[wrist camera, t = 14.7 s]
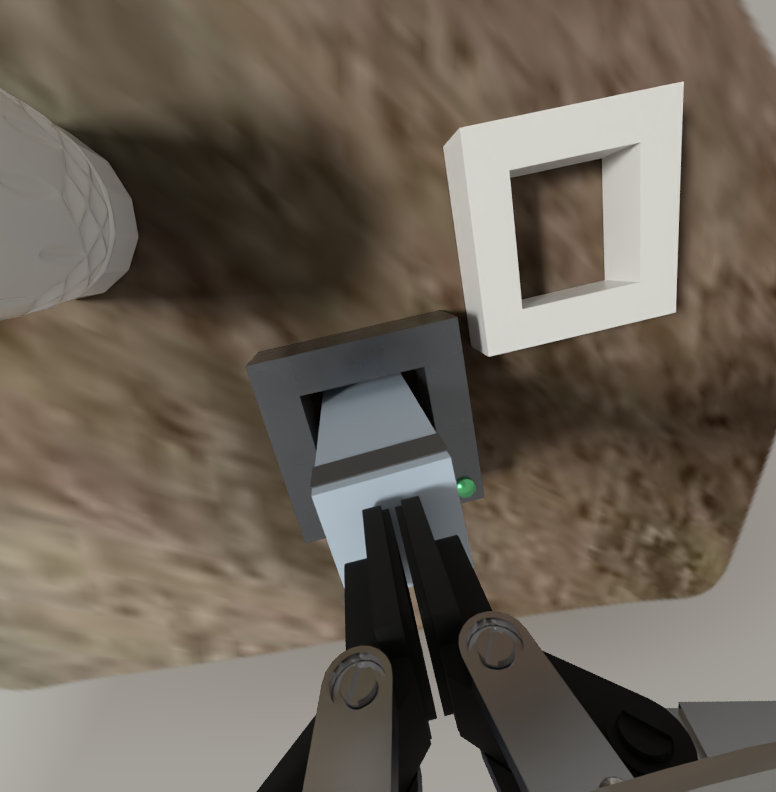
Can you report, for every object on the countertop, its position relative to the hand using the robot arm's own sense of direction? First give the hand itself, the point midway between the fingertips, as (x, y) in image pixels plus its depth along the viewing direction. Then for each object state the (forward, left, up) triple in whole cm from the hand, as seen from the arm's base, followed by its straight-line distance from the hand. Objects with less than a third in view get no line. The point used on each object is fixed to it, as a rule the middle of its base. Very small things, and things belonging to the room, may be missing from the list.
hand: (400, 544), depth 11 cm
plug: (0, 0, -10) cm, 10 cm away
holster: (-7, +10, -10) cm, 16 cm away
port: (0, 0, -10) cm, 10 cm away
